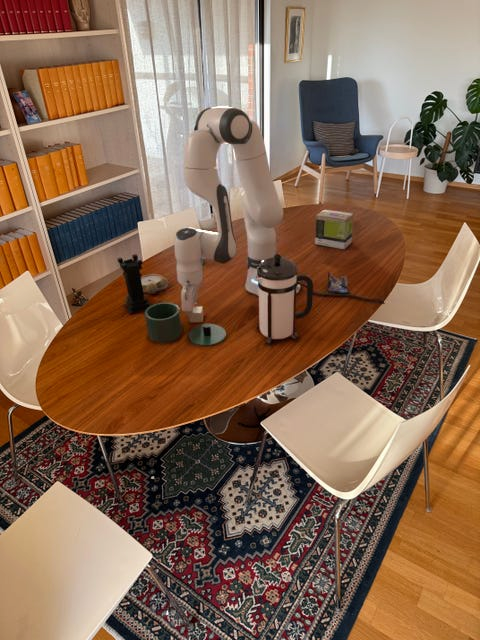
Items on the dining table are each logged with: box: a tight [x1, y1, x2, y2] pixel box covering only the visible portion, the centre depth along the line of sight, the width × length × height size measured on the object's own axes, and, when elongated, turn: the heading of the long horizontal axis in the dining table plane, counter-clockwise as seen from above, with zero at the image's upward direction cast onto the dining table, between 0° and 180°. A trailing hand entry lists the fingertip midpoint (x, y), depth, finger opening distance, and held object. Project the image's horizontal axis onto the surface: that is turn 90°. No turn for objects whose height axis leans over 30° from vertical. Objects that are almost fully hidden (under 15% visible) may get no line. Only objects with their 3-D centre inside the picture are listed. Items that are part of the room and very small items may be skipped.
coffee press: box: [254, 253, 314, 346], centre depth 153 cm, size 17×16×30 cm
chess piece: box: [116, 253, 151, 315], centre depth 175 cm, size 8×8×20 cm
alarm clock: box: [141, 273, 169, 295], centre depth 192 cm, size 11×5×15 cm
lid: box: [188, 323, 227, 347], centre depth 160 cm, size 13×13×5 cm
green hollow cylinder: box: [144, 302, 183, 344], centre depth 161 cm, size 12×12×10 cm
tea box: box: [314, 209, 355, 250], centre depth 220 cm, size 15×10×15 cm, turn 58°
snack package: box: [326, 271, 350, 294], centre depth 185 cm, size 12×6×12 cm
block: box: [189, 305, 205, 323], centre depth 169 cm, size 4×4×4 cm
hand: (192, 309), depth 168 cm, fingers open, 8 cm apart
